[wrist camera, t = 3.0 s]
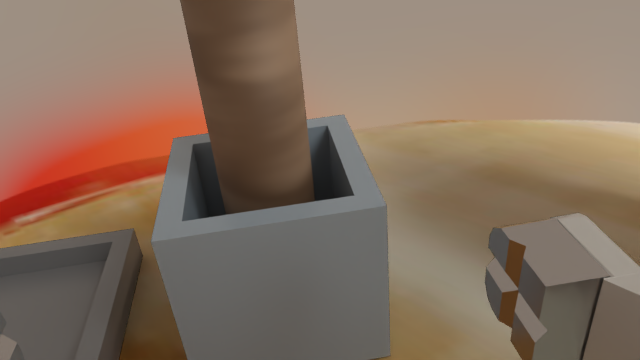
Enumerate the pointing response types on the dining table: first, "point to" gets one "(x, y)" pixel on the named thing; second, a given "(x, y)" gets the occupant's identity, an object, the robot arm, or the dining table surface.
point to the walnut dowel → (252, 100)
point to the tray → (70, 295)
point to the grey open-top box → (277, 259)
